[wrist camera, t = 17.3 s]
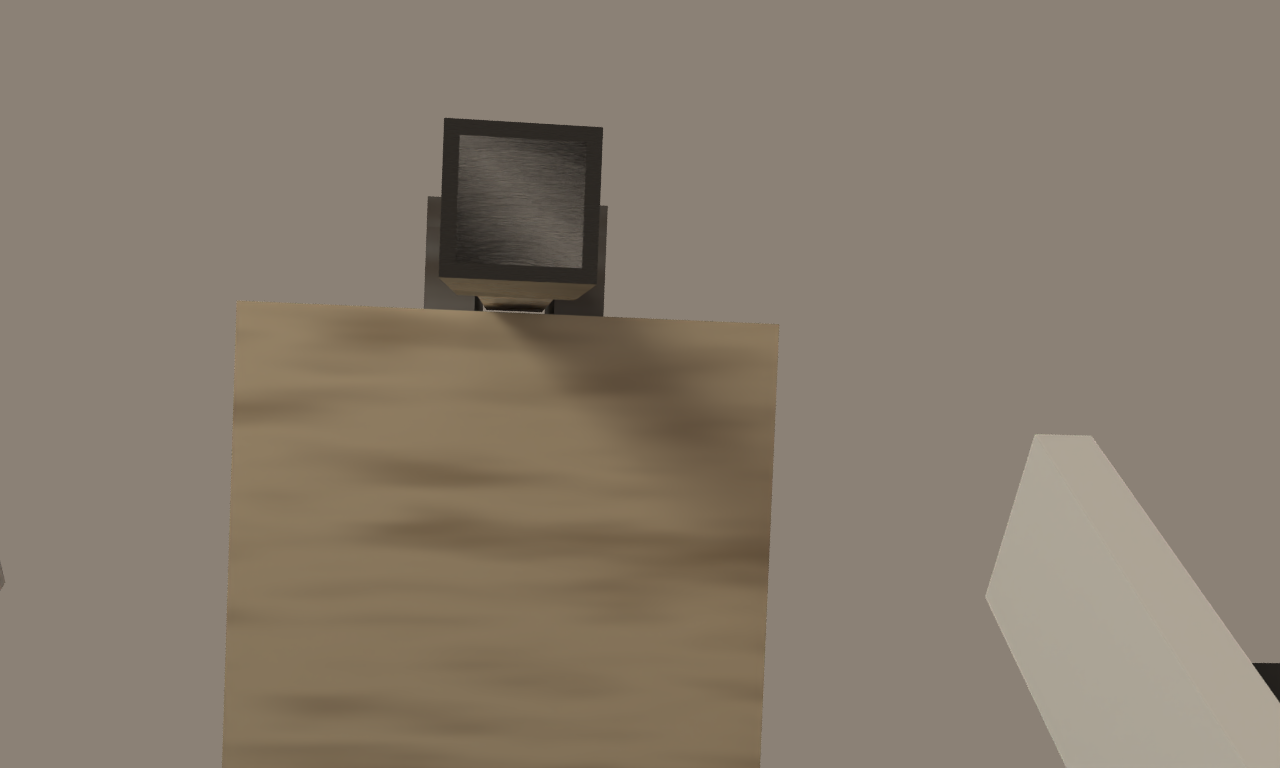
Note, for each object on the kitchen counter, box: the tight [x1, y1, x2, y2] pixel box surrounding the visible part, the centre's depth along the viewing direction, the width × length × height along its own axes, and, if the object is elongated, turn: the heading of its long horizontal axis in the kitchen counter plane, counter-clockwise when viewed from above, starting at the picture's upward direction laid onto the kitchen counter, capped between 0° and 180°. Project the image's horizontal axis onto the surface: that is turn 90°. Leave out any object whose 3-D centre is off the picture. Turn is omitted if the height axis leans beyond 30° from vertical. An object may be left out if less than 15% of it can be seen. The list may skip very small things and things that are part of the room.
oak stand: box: [222, 196, 779, 768], centre depth 55 cm, size 20×20×38 cm
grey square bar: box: [439, 118, 603, 312], centre depth 38 cm, size 30×3×3 cm, turn 6°
